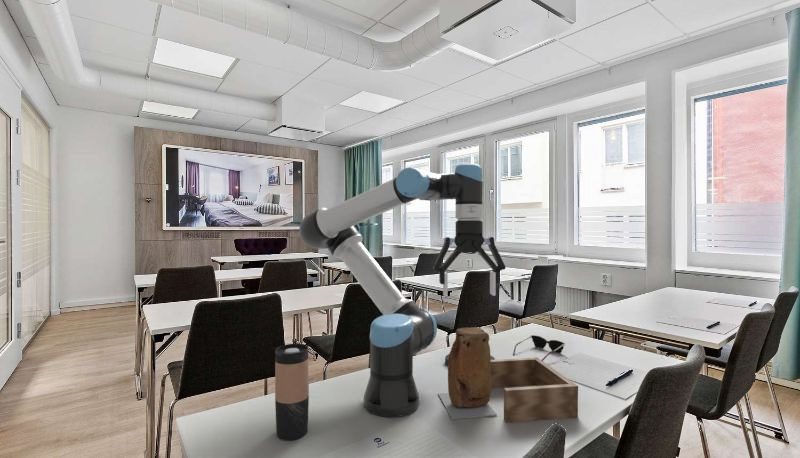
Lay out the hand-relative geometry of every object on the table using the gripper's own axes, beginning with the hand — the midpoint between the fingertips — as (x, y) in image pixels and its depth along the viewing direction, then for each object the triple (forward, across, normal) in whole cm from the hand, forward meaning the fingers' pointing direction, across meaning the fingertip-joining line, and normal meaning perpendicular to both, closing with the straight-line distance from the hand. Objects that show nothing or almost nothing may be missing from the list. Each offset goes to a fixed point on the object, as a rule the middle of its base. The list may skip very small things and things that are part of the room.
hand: (469, 295), depth 109 cm
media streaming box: (+30, +7, +26) cm, 40 cm away
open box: (+29, +15, -3) cm, 33 cm away
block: (+29, -1, -4) cm, 29 cm away
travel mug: (+29, -46, -14) cm, 57 cm away
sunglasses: (+30, +35, +34) cm, 57 cm away
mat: (+29, -2, -4) cm, 30 cm away
